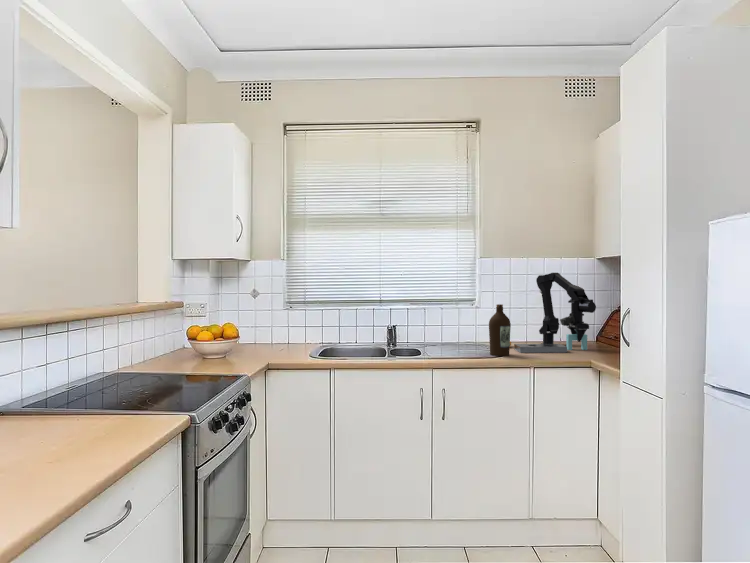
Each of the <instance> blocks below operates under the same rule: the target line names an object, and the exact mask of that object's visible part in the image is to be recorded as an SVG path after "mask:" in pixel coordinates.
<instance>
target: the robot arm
mask: <svg viewBox="0 0 750 563" xmlns="http://www.w3.org/2000/svg"><path fill="white" fill-rule="evenodd" d="M554 282H555V284H557V285H558V286H560V287H561V288H562V289H563V290H564V291H566V293H567V294H566V295H568V297H569V298H570V299H569V300H568V301H567V302H568V304H570V313H569V315H568V316H565V317H563V318H560V319H559V317H556V316H555V314H554V307H553V305H554V304H553V300H552V293H551V289H552V286H553V283H554ZM536 284H537V288H538V289H539V291H540V292H541V298H542V299H541V300H542V307H543V311H544V312H543V315H544V318H543V320H542V326H541V327H540V328H539V330H538V332H539V334H540V335H542V343H540V344H555V342H554V341H555V340H554V337H555V335H558V333H559V332H558V331H559V328H560V326H563V327H565V326H566V327H567V328H568V329H569V331H570V332H571V333H570V334H577V339H578V341H577V342H579V343H581V339H582V337H583V335H584V334H586V331H587V330H590V324H588V323H586V322H585V321H584V320H583V319H584V316H585V313H589V314H590V313H595V311H596V309H597V305H596V303H595V302H594V299H589V297H588V296H587V294H586V292H585V289H584V288H583V287H581V286H579V285H575V284H573V283H571V282H570V281H569V280H568V279H566V278H565V277H564V276H562V275H561V273H559V272H550V273H547V274H540V275H538V276H537V277H536ZM559 321H560V322H559Z"/></svg>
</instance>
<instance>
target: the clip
mask: <svg viewBox="0 0 750 563" xmlns="http://www.w3.org/2000/svg"><path fill="white" fill-rule="evenodd" d="M565 335H566V339H565V340H566V345H565V346H567V351H573V341H577V342H578V339H577V334H571V333H570V334H569V333H567V334H565ZM580 343H581V345H580V347H581V348H580V350H583V351H588V334H586V333H585V334H584V335H583V337H582V339H581V341H580Z"/></svg>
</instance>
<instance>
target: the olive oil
mask: <svg viewBox="0 0 750 563" xmlns="http://www.w3.org/2000/svg"><path fill="white" fill-rule="evenodd" d="M495 306H496V308H495V310H496V312H495V313H494V314H493V315H492V316H491V317H490V319H489V321H488V333H489V334H488V335H489V336H488V337H489V355H490V356H495V357H506V356H507V357H508V356H510V348H511V346H510V342H511V320H510V318H509V316H507V315H506V313H504V304H500V303H499V304H496V305H495Z"/></svg>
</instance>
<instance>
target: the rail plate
mask: <svg viewBox="0 0 750 563" xmlns="http://www.w3.org/2000/svg"><path fill="white" fill-rule="evenodd" d="M513 349H514V350H515V351H517V352H518V353H521V354H540V353H541V354H548V353H549V354H550V353H552V354H553V353H555V354H556V353H557V354H559V353H560V354H561V353H562V354H563V353H565V354H566V353H567V354H568V350H567V346H566V345H564V344H561V343H554V344H541V343H513Z"/></svg>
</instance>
